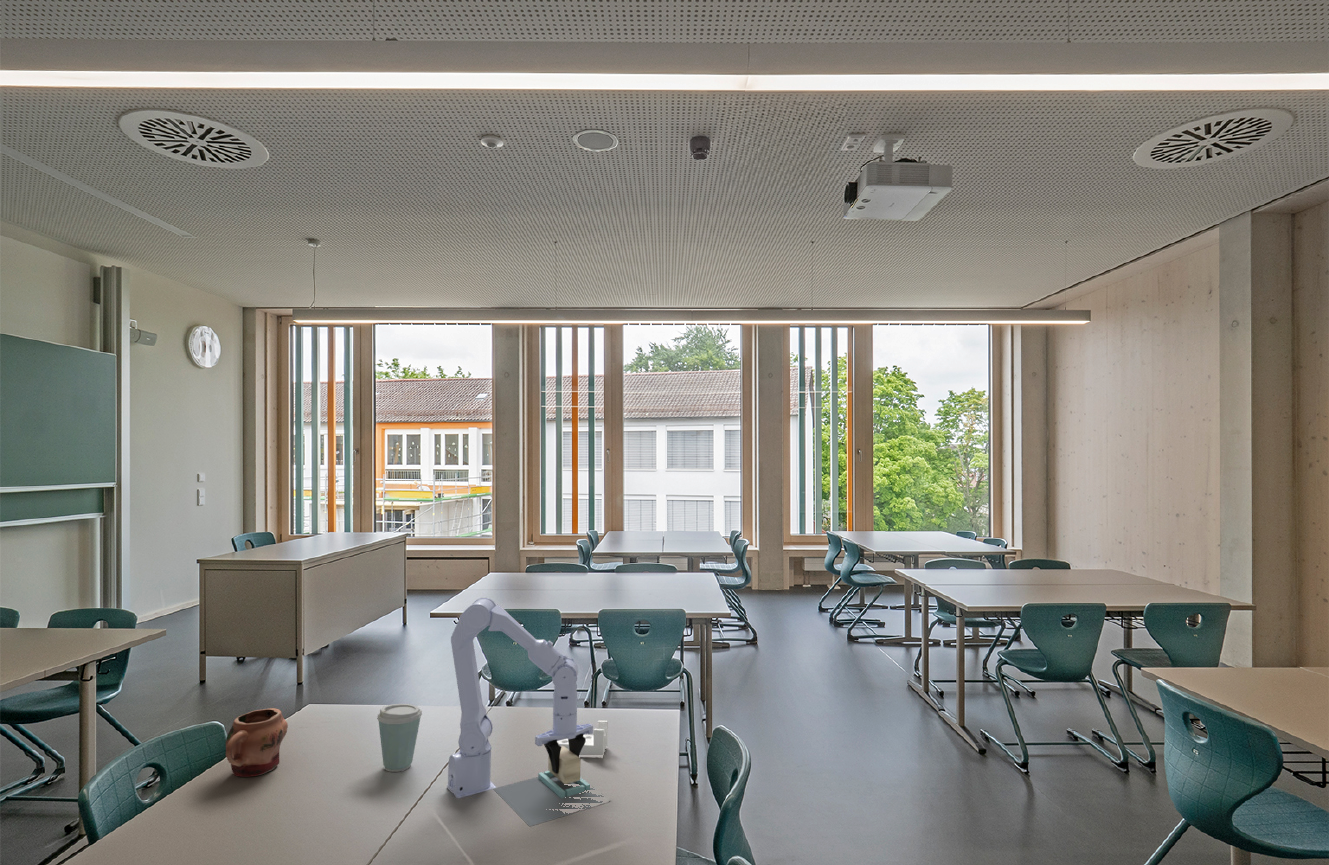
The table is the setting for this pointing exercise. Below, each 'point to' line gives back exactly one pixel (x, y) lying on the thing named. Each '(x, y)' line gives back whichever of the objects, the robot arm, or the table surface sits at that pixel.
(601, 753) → the bracket
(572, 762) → the birch block
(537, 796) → the rubber mat
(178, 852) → the table surface
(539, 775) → the teal frame
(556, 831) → the table surface
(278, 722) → the decorative planter
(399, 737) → the disposable coffee cup
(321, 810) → the table surface
